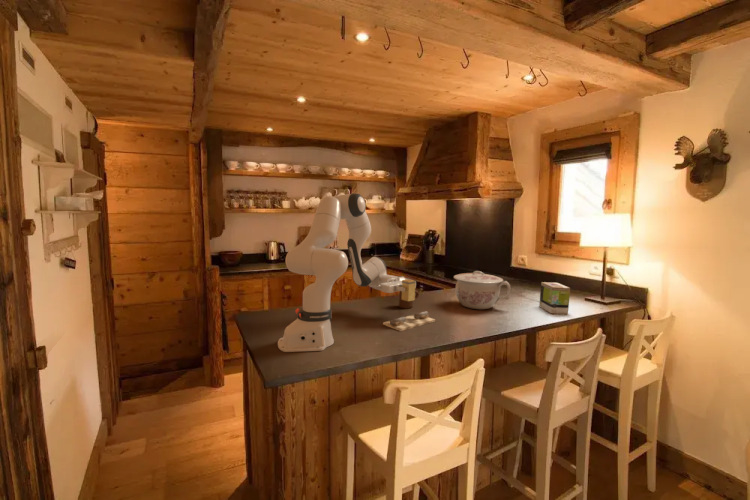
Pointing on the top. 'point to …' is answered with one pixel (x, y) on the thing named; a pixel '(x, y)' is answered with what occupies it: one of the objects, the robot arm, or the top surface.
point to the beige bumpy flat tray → (409, 321)
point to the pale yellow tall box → (408, 290)
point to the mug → (404, 303)
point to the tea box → (554, 297)
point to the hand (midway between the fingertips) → (409, 288)
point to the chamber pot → (479, 289)
